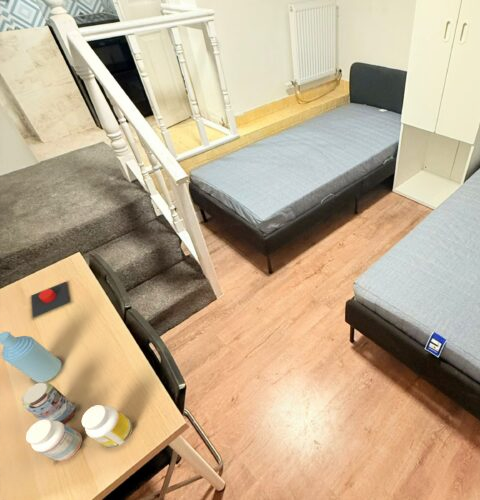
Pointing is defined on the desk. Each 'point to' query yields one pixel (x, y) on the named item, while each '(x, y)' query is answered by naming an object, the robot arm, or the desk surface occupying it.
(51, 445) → the pill bottle
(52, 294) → the cap
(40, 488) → the desk surface
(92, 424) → the pill bottle
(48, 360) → the water bottle
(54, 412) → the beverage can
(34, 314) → the coaster
